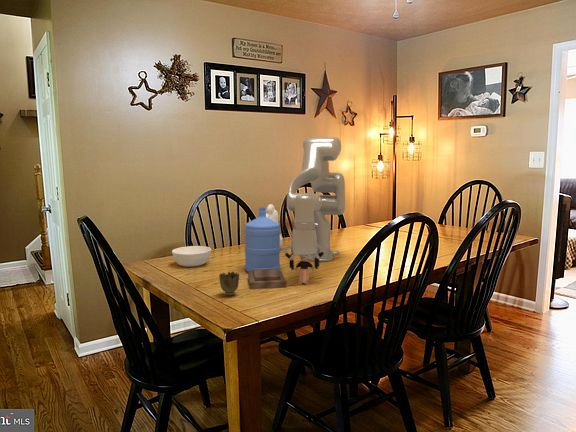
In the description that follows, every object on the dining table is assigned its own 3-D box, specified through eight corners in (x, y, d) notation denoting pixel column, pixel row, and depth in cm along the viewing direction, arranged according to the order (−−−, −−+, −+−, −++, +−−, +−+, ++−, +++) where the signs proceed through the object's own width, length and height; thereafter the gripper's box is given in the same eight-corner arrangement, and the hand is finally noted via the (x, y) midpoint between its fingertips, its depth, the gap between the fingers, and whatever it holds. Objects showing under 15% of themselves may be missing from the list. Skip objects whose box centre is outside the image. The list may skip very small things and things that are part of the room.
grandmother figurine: (295, 285, 181) (295, 254, 179) (294, 282, 185) (294, 251, 183) (314, 284, 182) (314, 253, 180) (313, 281, 186) (313, 251, 184)
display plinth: (281, 276, 194) (281, 267, 193) (286, 287, 178) (286, 277, 178) (248, 278, 192) (248, 268, 191) (250, 289, 176) (250, 279, 176)
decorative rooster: (262, 246, 257) (261, 202, 254) (288, 248, 251) (288, 203, 248) (241, 255, 234) (240, 207, 231) (269, 257, 228) (268, 208, 225)
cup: (222, 299, 165) (222, 277, 163) (217, 293, 171) (216, 273, 170) (242, 296, 168) (241, 275, 166) (236, 291, 174) (235, 270, 173)
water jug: (281, 274, 197) (281, 209, 194) (245, 275, 195) (244, 210, 192) (278, 265, 212) (278, 206, 209) (244, 266, 211) (244, 206, 207)
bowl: (193, 258, 229) (192, 244, 228) (219, 263, 218) (219, 248, 217) (164, 266, 214) (163, 251, 213) (191, 271, 204) (190, 255, 202)
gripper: (323, 224, 185) (323, 265, 187) (281, 225, 182) (281, 267, 185) (327, 227, 177) (327, 270, 179) (283, 228, 175) (284, 272, 177)
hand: (304, 268), depth 182 cm, fingers open, 9 cm apart
